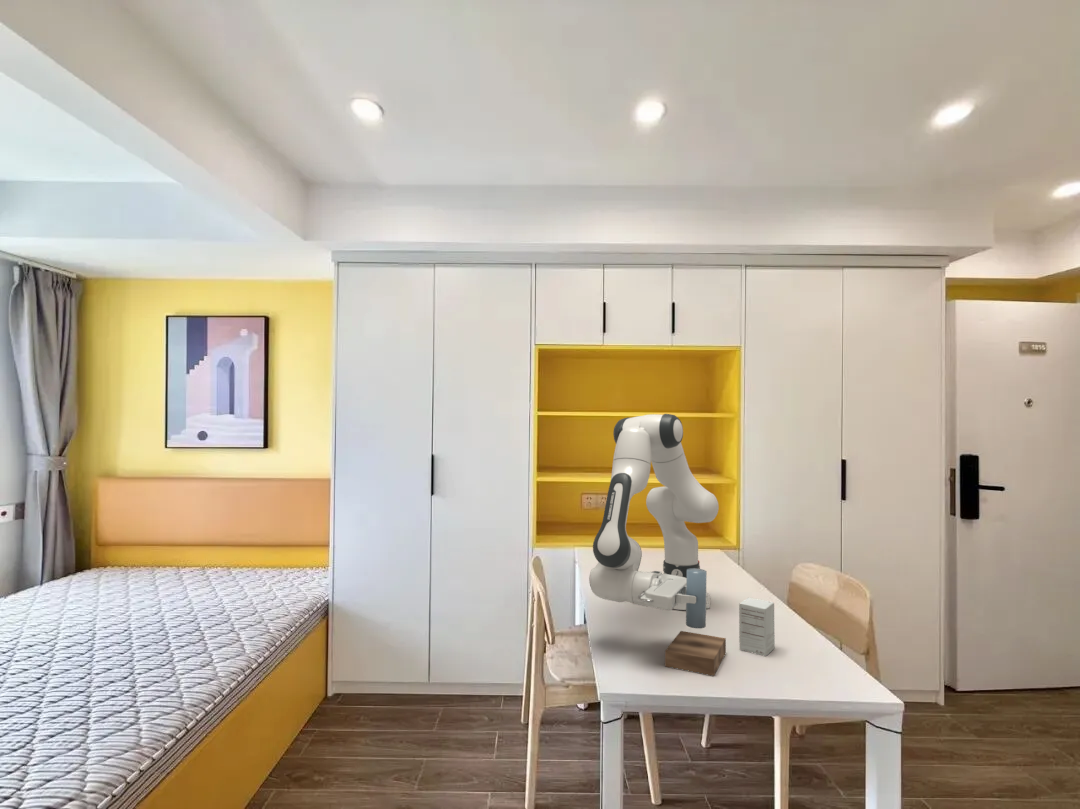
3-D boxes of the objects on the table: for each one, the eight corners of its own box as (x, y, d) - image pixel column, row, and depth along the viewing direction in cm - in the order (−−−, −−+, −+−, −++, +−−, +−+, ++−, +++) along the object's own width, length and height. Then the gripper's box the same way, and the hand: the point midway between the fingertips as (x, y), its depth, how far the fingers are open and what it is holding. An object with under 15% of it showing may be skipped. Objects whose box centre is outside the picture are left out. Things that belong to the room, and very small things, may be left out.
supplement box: (748, 642, 169) (748, 596, 170) (775, 648, 165) (775, 601, 165) (738, 649, 164) (738, 602, 164) (766, 656, 159) (765, 608, 159)
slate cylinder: (688, 620, 160) (689, 567, 160) (707, 623, 158) (708, 569, 158) (683, 626, 156) (684, 571, 156) (703, 629, 153) (704, 574, 154)
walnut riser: (680, 645, 166) (680, 630, 167) (725, 653, 161) (725, 638, 161) (665, 666, 152) (665, 650, 152) (713, 676, 147) (713, 659, 147)
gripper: (635, 586, 154) (690, 594, 147) (658, 569, 172) (707, 575, 166) (635, 611, 153) (689, 620, 147) (657, 591, 172) (707, 598, 165)
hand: (699, 596), depth 157 cm, fingers closed on slate cylinder, 5 cm apart
